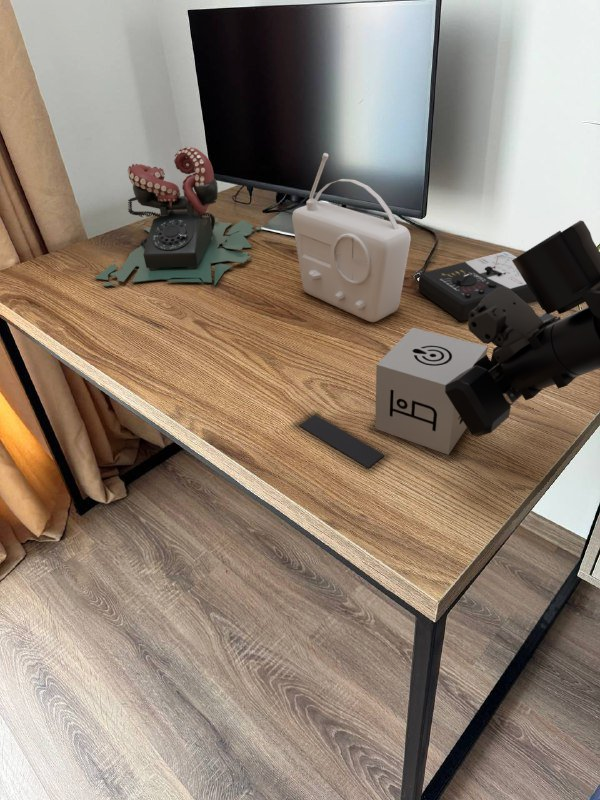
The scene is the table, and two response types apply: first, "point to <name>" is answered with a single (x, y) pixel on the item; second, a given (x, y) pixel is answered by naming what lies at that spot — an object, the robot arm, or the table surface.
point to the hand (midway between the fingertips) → (461, 393)
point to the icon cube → (423, 388)
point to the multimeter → (472, 283)
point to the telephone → (180, 226)
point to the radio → (351, 255)
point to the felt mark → (342, 441)
